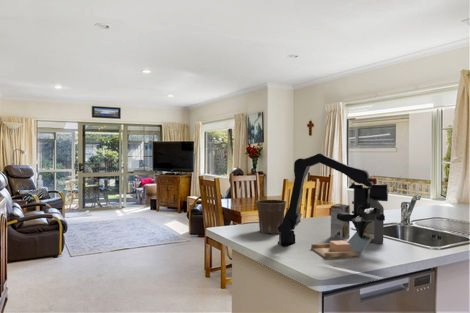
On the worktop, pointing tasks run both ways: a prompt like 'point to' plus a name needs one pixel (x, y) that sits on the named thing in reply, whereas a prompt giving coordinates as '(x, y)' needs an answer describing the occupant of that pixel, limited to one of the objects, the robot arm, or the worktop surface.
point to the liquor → (375, 227)
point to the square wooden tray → (329, 254)
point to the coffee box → (339, 222)
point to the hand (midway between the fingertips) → (360, 237)
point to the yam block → (339, 246)
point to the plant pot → (270, 215)
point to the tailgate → (358, 242)
